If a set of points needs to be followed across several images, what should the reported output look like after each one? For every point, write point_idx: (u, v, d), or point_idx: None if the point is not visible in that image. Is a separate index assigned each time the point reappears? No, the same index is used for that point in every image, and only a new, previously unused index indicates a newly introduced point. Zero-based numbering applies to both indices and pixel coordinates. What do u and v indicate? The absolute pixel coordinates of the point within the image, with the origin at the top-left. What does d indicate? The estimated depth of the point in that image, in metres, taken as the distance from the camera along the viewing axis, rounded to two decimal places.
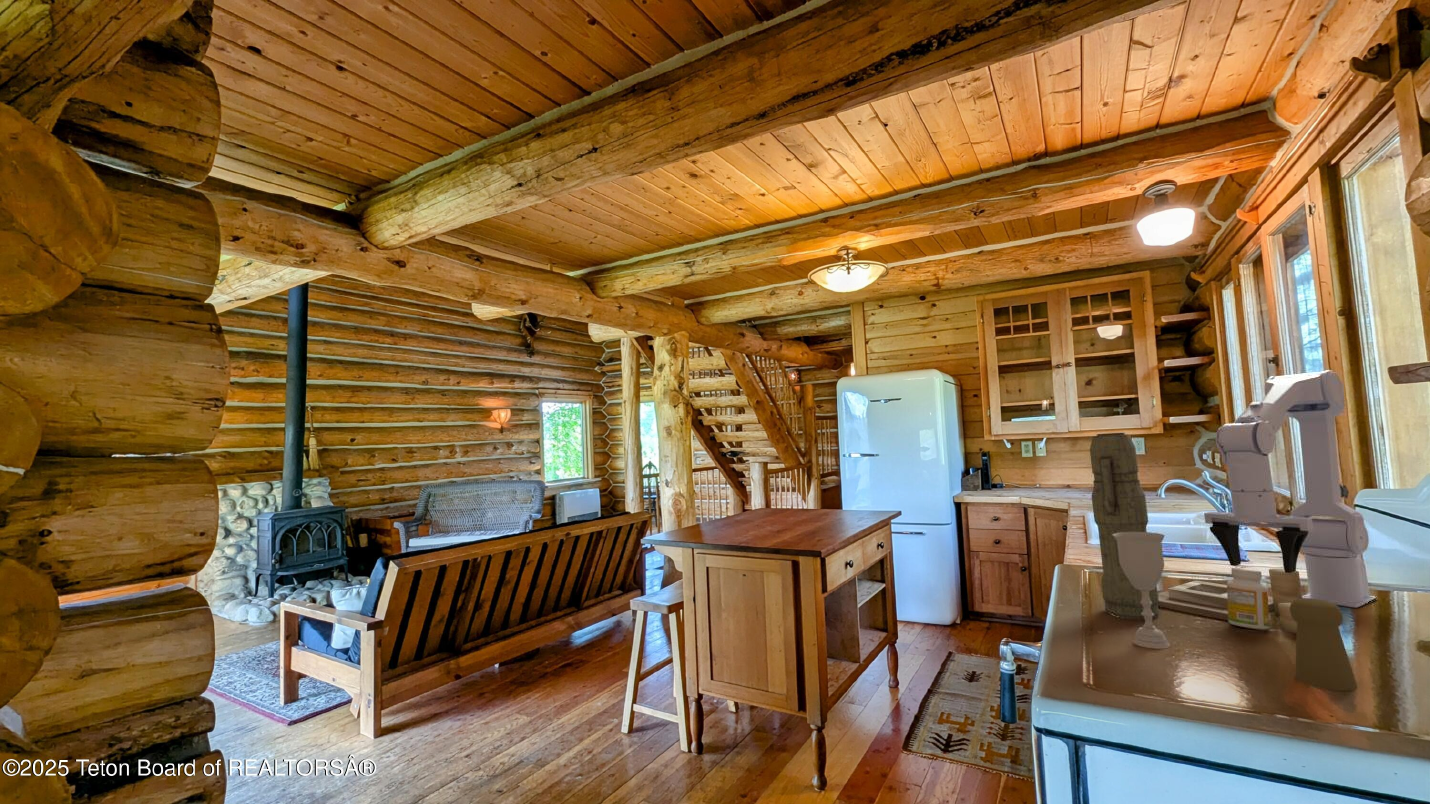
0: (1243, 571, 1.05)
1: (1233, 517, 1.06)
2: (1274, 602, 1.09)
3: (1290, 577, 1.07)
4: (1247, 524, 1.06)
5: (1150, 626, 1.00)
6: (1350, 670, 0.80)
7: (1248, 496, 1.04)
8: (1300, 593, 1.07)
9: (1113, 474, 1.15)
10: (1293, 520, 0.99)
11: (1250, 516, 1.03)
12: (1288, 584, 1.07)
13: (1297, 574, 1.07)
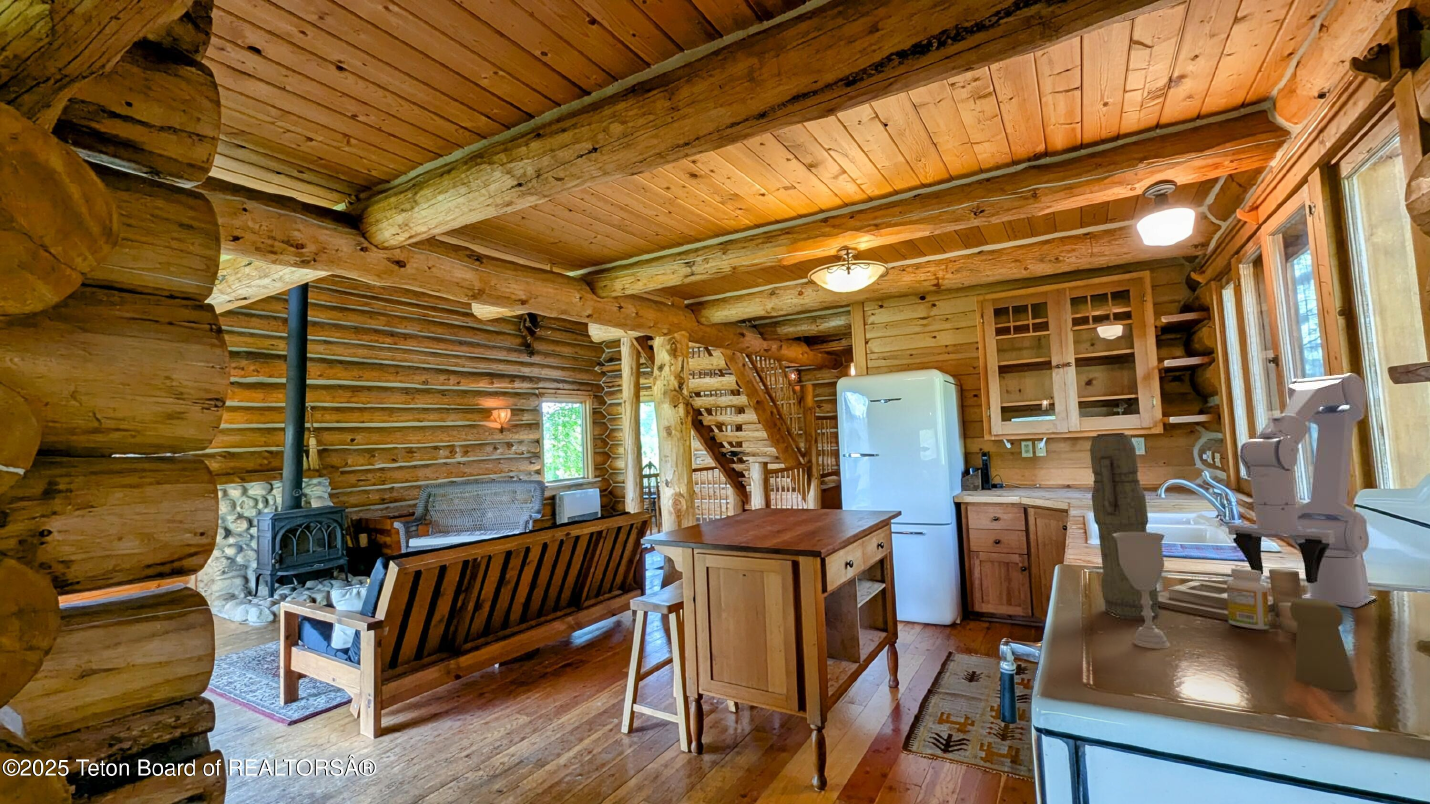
0: (1243, 571, 1.05)
1: (1256, 529, 1.10)
2: (1274, 602, 1.09)
3: (1290, 577, 1.07)
4: (1270, 536, 1.10)
5: (1150, 626, 1.00)
6: (1350, 670, 0.80)
7: (1272, 509, 1.08)
8: (1300, 593, 1.07)
9: (1113, 474, 1.15)
10: (1315, 533, 1.04)
11: (1273, 528, 1.08)
12: (1288, 584, 1.07)
13: (1297, 574, 1.07)
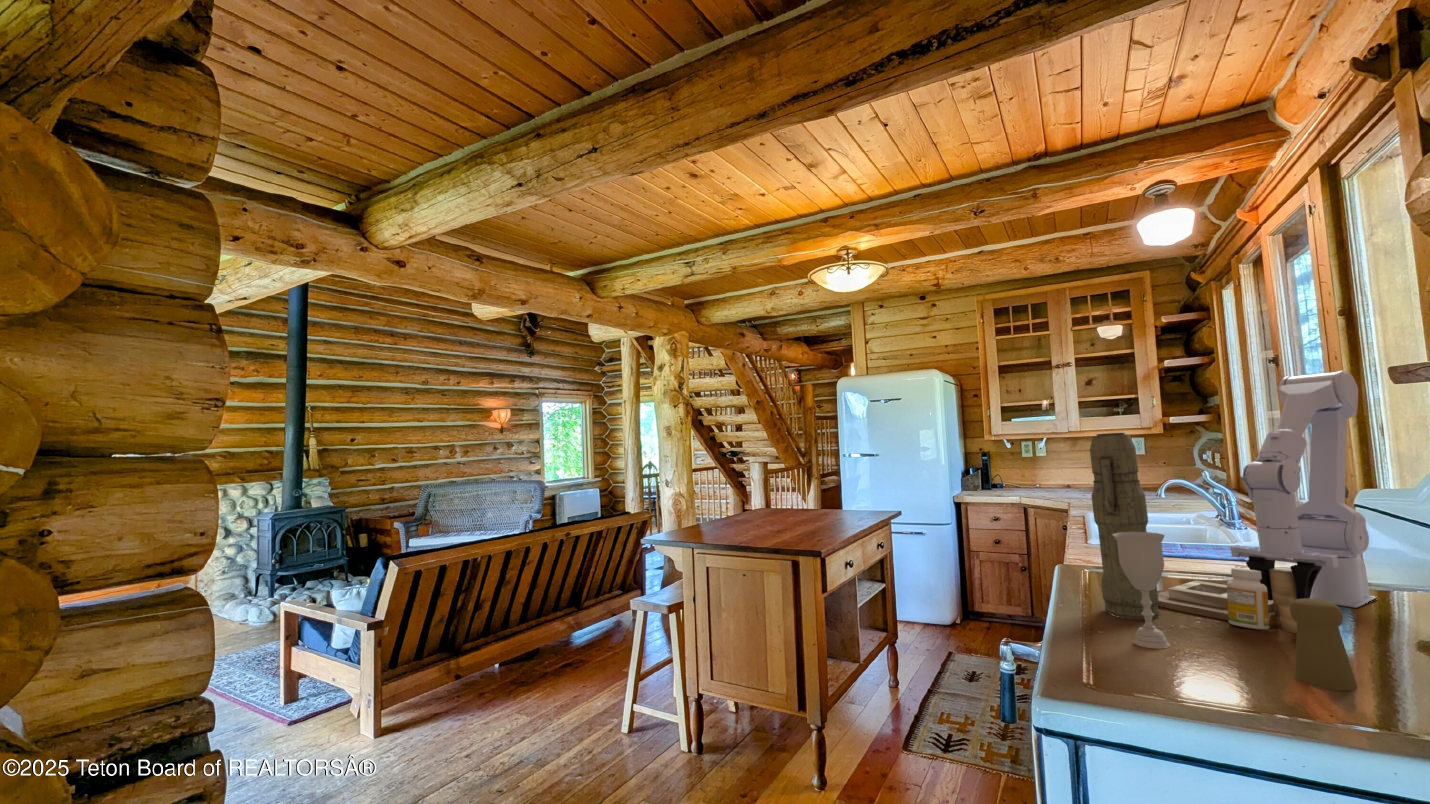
0: (1243, 571, 1.05)
1: (1260, 552, 1.10)
2: (1274, 602, 1.09)
3: (1290, 577, 1.07)
4: (1273, 559, 1.10)
5: (1150, 626, 1.00)
6: (1350, 670, 0.80)
7: (1275, 533, 1.08)
8: None
9: (1113, 474, 1.15)
10: (1319, 557, 1.04)
11: (1276, 552, 1.08)
12: (1288, 584, 1.07)
13: None
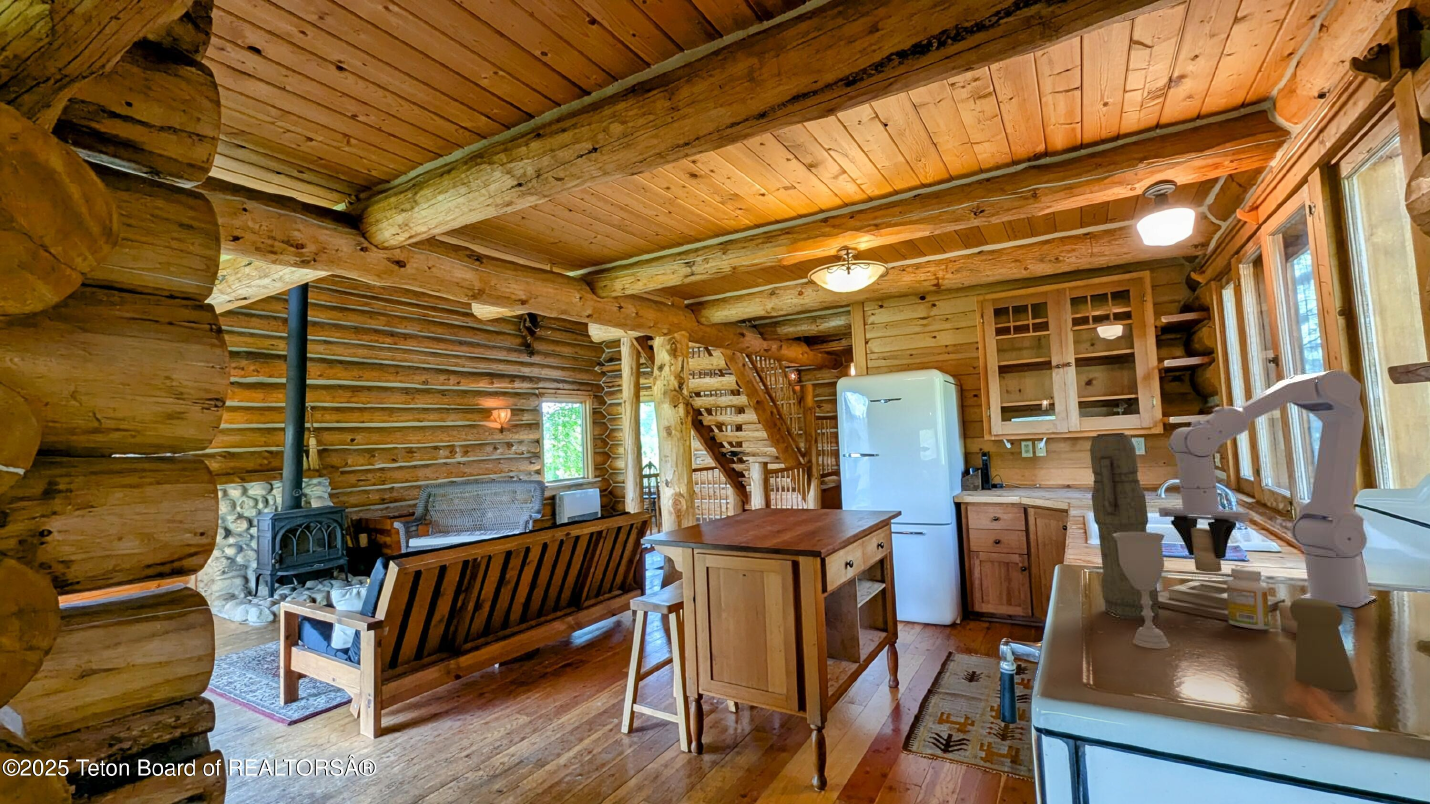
0: (1243, 571, 1.05)
1: (1182, 511, 1.19)
2: (1195, 558, 1.19)
3: (1208, 534, 1.16)
4: (1194, 517, 1.19)
5: (1150, 626, 1.00)
6: (1350, 670, 0.80)
7: (1195, 492, 1.17)
8: None
9: (1113, 474, 1.15)
10: (1232, 513, 1.13)
11: (1196, 510, 1.17)
12: (1206, 541, 1.17)
13: None
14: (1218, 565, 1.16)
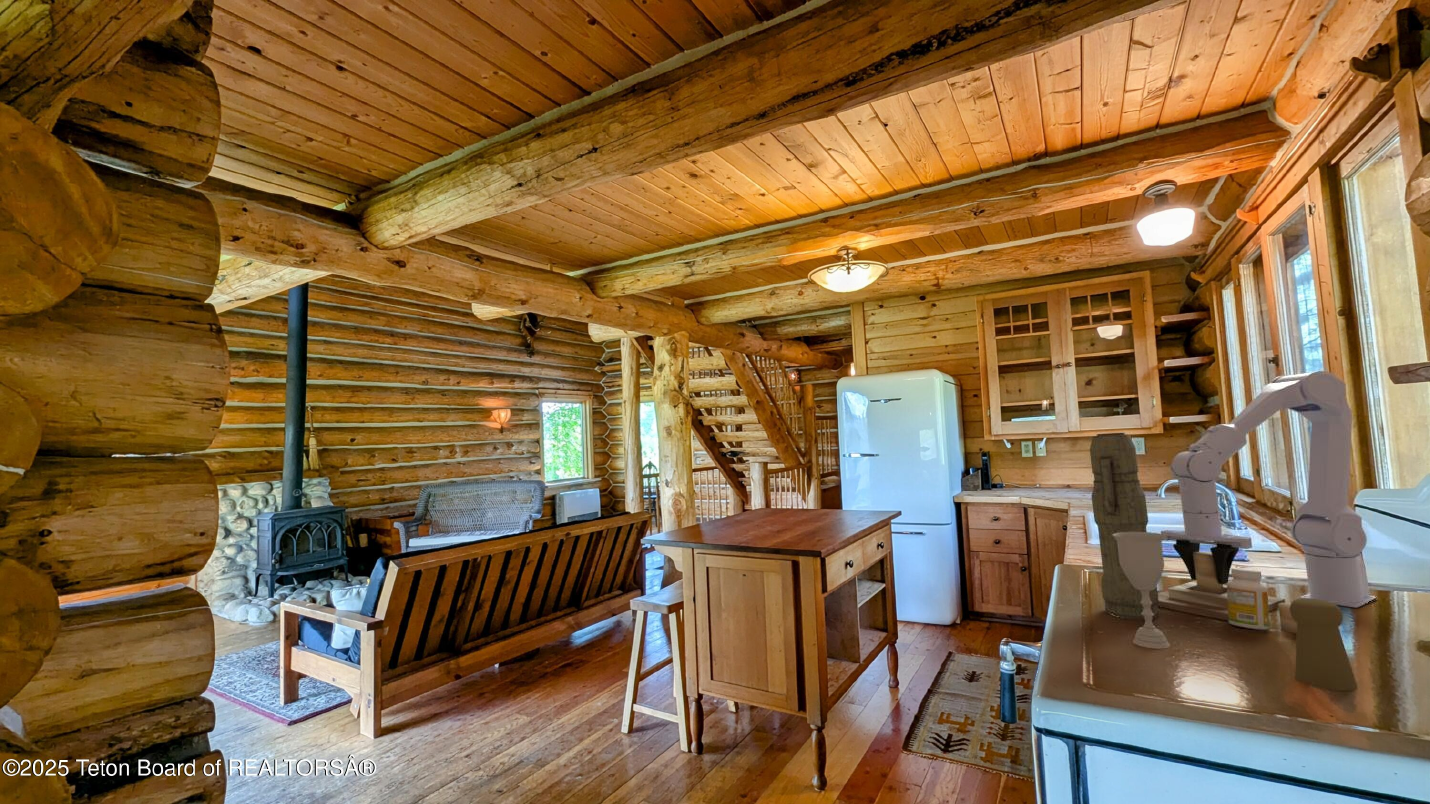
0: (1243, 571, 1.05)
1: (1184, 535, 1.19)
2: (1197, 582, 1.18)
3: (1210, 559, 1.16)
4: (1197, 542, 1.19)
5: (1150, 626, 1.00)
6: (1350, 670, 0.80)
7: (1197, 517, 1.17)
8: None
9: (1113, 474, 1.15)
10: (1234, 539, 1.13)
11: (1198, 535, 1.17)
12: (1208, 566, 1.16)
13: None
14: (1221, 591, 1.16)
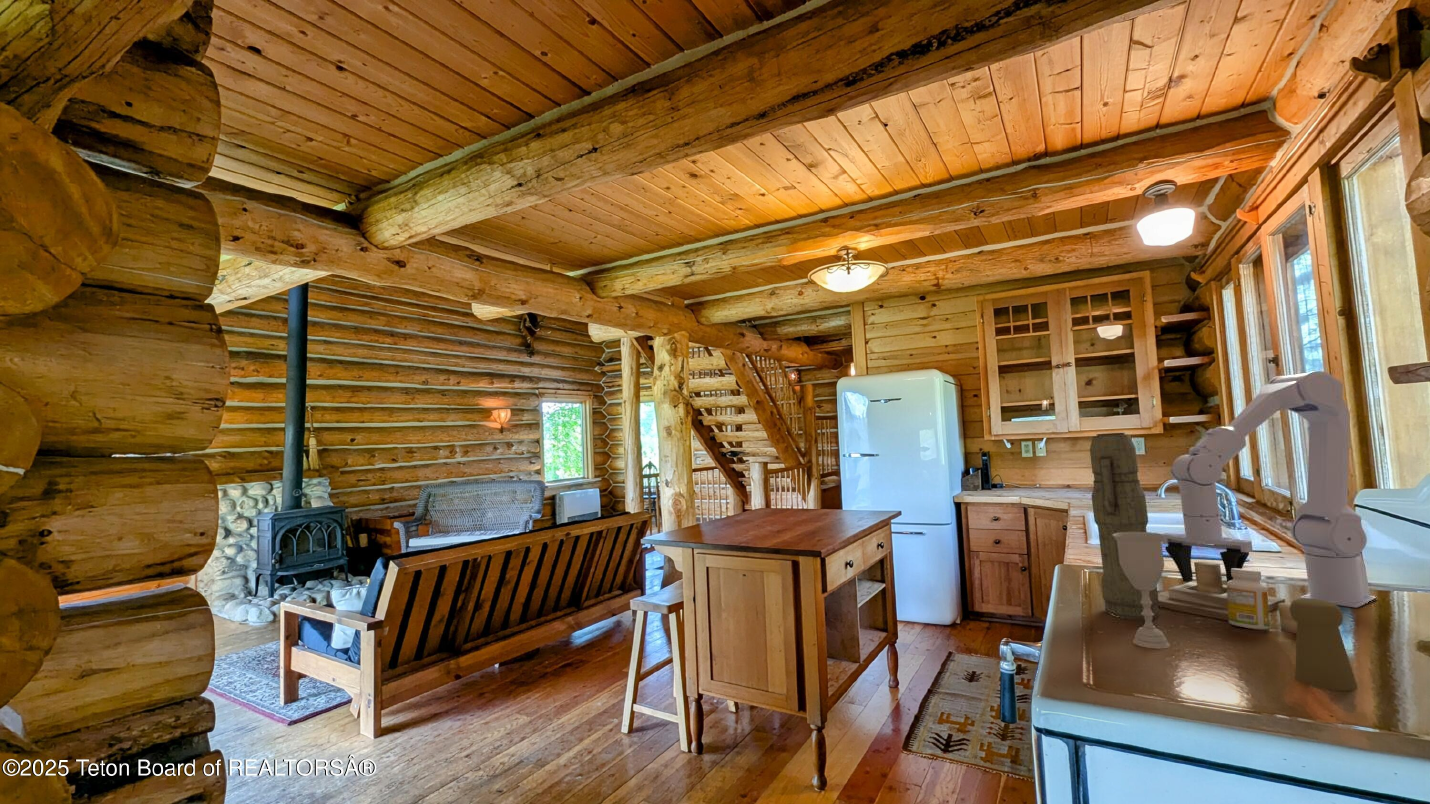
0: (1243, 571, 1.05)
1: (1185, 538, 1.19)
2: None
3: (1211, 569, 1.16)
4: (1197, 545, 1.19)
5: (1150, 626, 1.00)
6: (1350, 670, 0.80)
7: (1198, 521, 1.17)
8: (1221, 584, 1.16)
9: (1113, 474, 1.15)
10: (1235, 542, 1.13)
11: (1199, 538, 1.17)
12: (1209, 576, 1.16)
13: (1218, 566, 1.16)
14: None
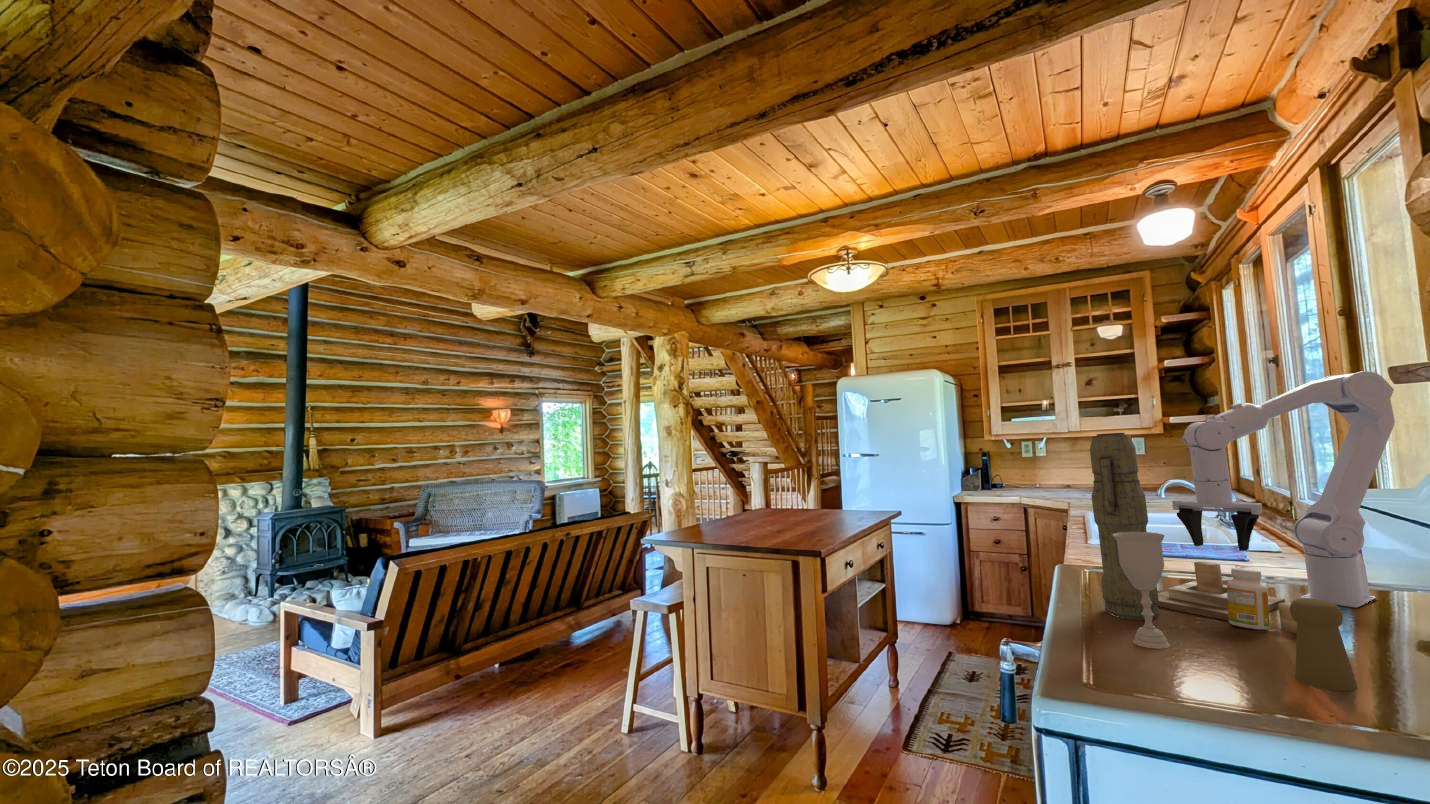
0: (1243, 571, 1.05)
1: (1196, 503, 1.22)
2: None
3: (1211, 569, 1.16)
4: (1208, 510, 1.22)
5: (1150, 626, 1.00)
6: (1350, 670, 0.80)
7: (1208, 485, 1.20)
8: (1220, 584, 1.16)
9: (1113, 474, 1.15)
10: (1246, 505, 1.16)
11: (1210, 502, 1.19)
12: (1209, 576, 1.16)
13: (1218, 566, 1.16)
14: None
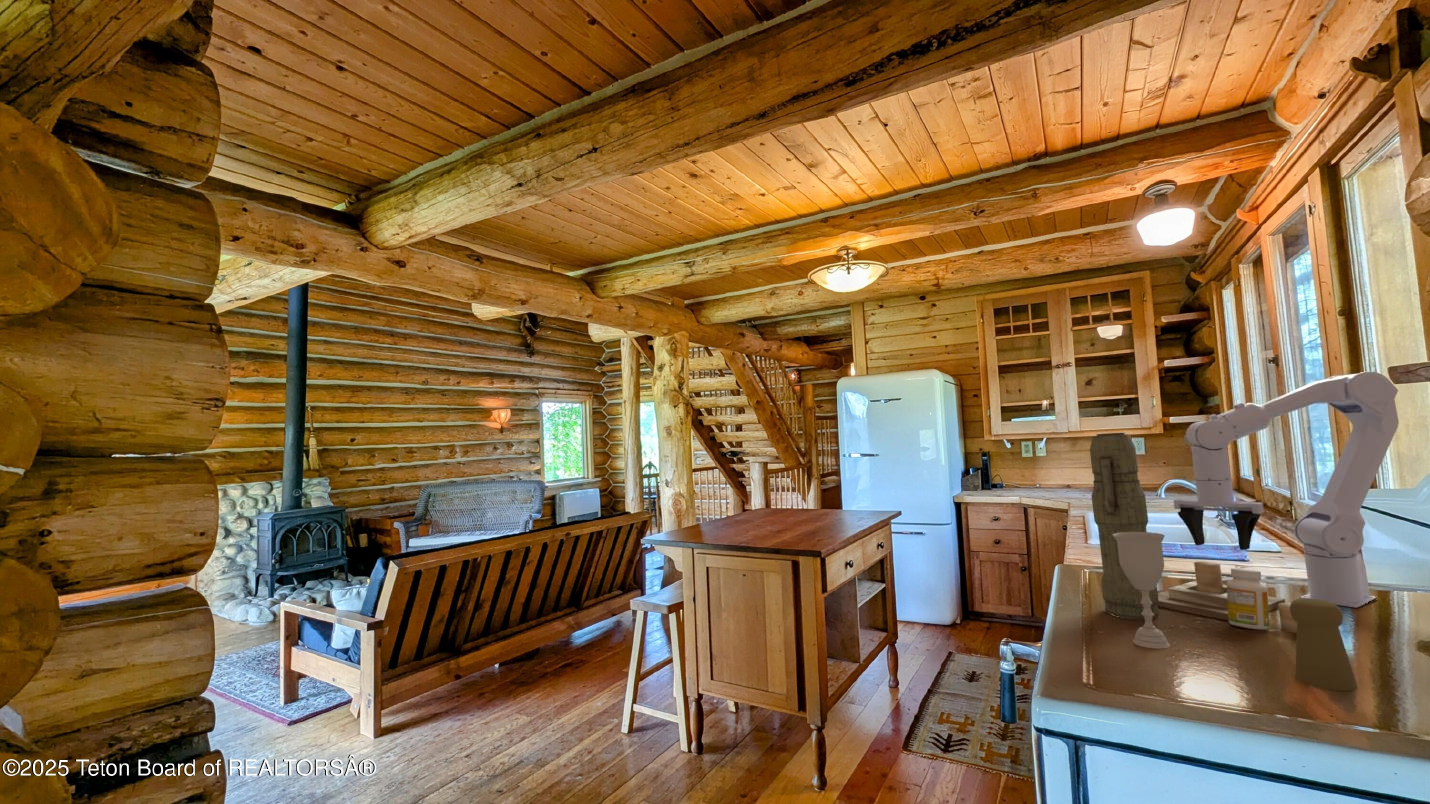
0: (1242, 571, 1.05)
1: (1197, 503, 1.22)
2: None
3: (1211, 569, 1.16)
4: (1209, 509, 1.22)
5: (1150, 626, 1.00)
6: (1350, 670, 0.80)
7: (1210, 484, 1.20)
8: (1220, 584, 1.16)
9: (1113, 474, 1.15)
10: (1247, 504, 1.16)
11: (1211, 501, 1.20)
12: (1209, 576, 1.16)
13: (1218, 566, 1.16)
14: None
